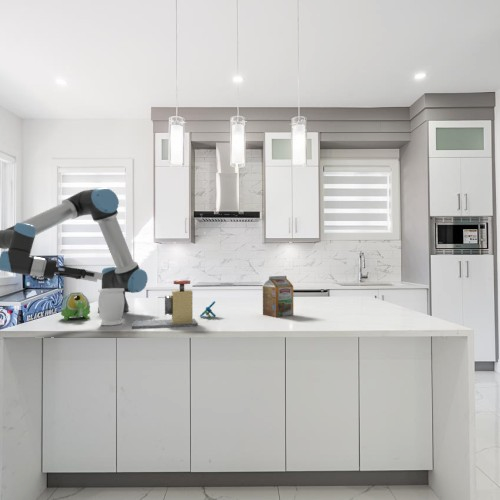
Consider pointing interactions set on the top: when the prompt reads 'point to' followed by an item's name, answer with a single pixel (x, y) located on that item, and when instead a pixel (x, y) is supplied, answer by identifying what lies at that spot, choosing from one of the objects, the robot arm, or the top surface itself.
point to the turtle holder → (75, 306)
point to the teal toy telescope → (208, 311)
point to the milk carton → (278, 297)
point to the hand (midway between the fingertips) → (99, 277)
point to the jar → (111, 305)
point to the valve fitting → (173, 310)
